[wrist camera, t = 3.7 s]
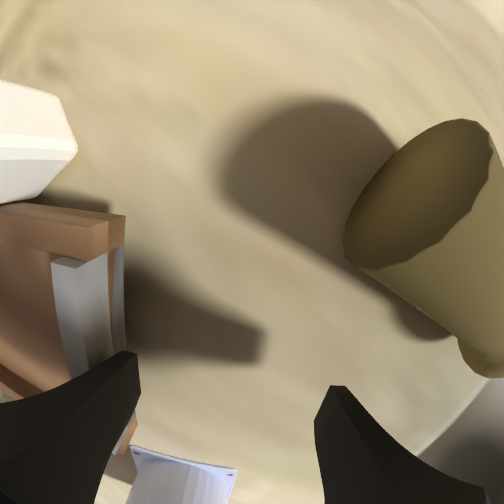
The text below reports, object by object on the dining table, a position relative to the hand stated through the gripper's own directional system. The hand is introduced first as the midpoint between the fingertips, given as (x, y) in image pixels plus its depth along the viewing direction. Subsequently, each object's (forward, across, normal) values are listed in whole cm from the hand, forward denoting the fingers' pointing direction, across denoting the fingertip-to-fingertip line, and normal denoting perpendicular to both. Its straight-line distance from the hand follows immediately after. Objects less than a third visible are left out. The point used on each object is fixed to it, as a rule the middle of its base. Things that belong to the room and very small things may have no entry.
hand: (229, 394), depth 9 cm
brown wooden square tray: (+3, +10, 0) cm, 11 cm away
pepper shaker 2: (0, -4, -8) cm, 9 cm away
